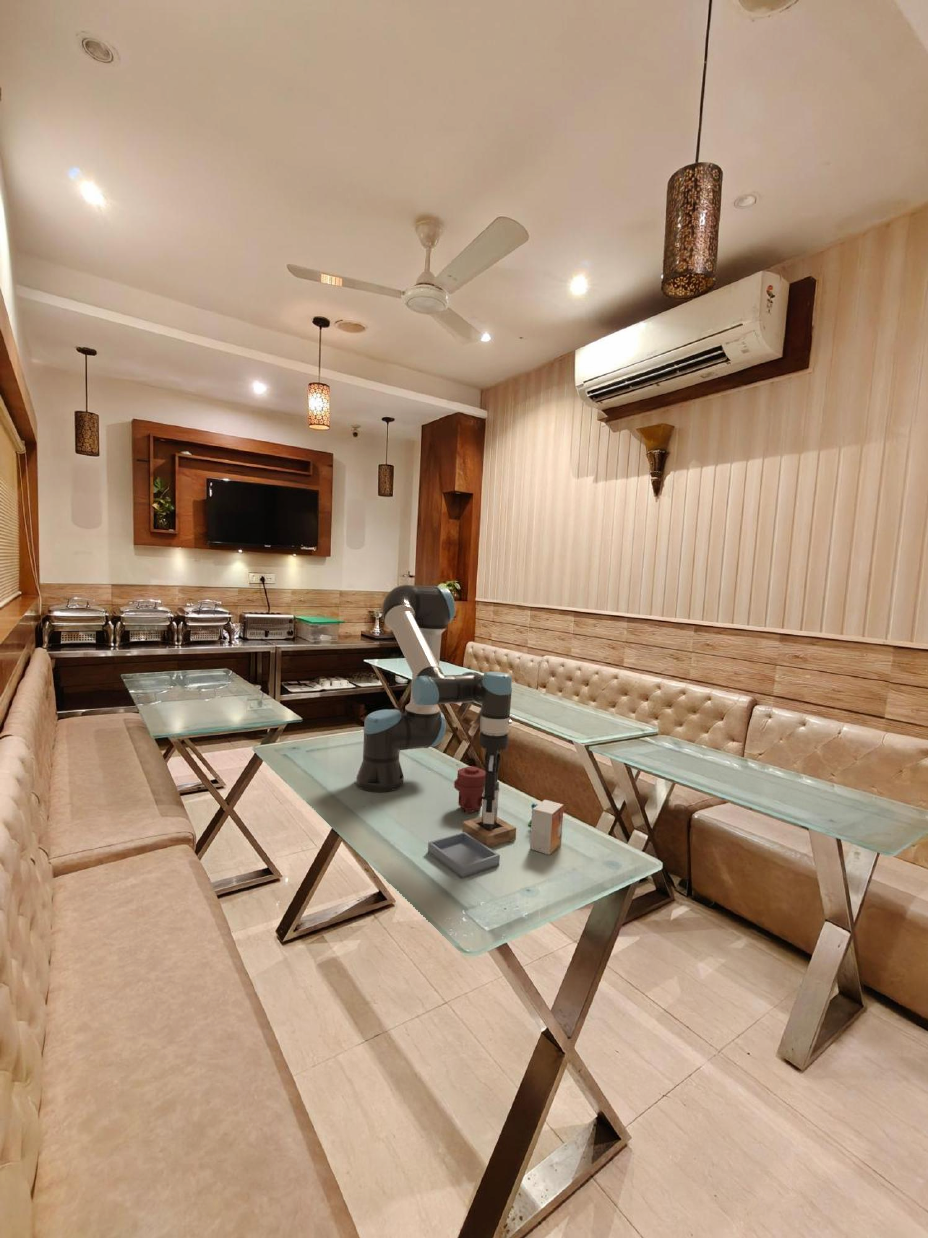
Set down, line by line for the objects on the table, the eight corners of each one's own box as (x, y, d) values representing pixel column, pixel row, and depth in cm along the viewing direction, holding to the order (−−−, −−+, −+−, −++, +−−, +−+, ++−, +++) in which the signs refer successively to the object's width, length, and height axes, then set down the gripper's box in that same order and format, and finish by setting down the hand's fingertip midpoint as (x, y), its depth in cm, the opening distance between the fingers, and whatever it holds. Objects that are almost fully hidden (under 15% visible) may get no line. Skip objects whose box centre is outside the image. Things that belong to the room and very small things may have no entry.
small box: (549, 856, 135) (552, 814, 134) (529, 849, 138) (531, 808, 137) (561, 843, 142) (564, 804, 141) (542, 837, 145) (544, 798, 144)
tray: (427, 852, 134) (428, 842, 133) (463, 841, 140) (464, 831, 140) (461, 878, 122) (462, 867, 122) (499, 865, 129) (499, 855, 129)
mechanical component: (489, 805, 164) (484, 818, 154) (456, 801, 166) (449, 814, 156) (491, 765, 163) (486, 776, 154) (458, 761, 165) (451, 772, 156)
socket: (462, 833, 145) (462, 822, 145) (491, 824, 151) (491, 814, 151) (486, 848, 137) (486, 837, 137) (515, 839, 143) (516, 828, 143)
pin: (477, 833, 144) (480, 781, 143) (489, 829, 147) (492, 778, 146) (487, 839, 141) (490, 786, 140) (499, 835, 144) (502, 783, 143)
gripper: (506, 742, 133) (501, 835, 135) (510, 725, 150) (505, 807, 152) (476, 739, 134) (471, 832, 136) (483, 722, 151) (478, 804, 153)
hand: (489, 819), depth 144 cm, fingers closed on pin, 4 cm apart
